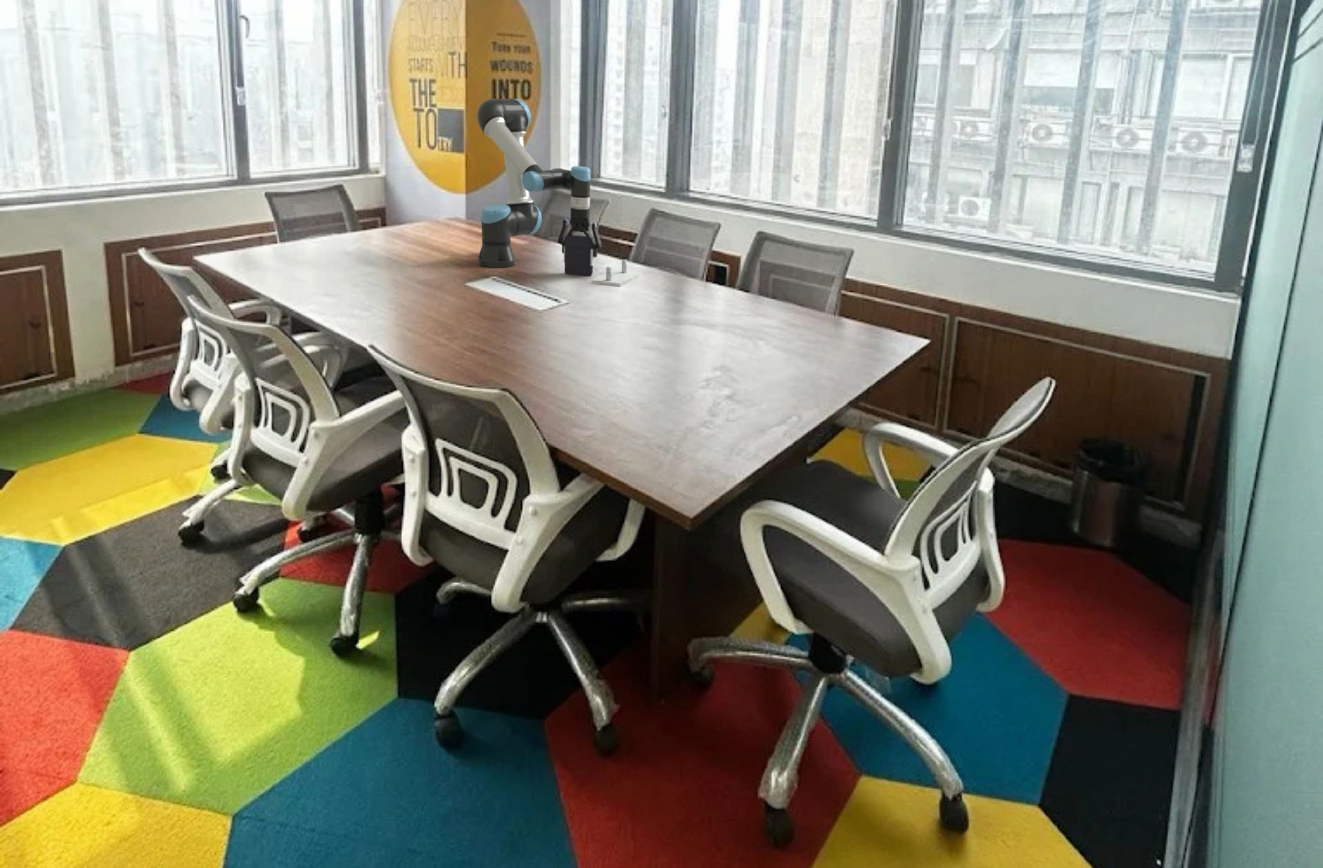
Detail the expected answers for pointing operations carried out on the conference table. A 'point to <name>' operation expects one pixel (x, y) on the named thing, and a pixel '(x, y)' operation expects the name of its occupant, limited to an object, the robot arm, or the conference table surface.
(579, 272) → the calculator
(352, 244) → the conference table surface
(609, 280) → the white peg stand
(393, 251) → the conference table surface
